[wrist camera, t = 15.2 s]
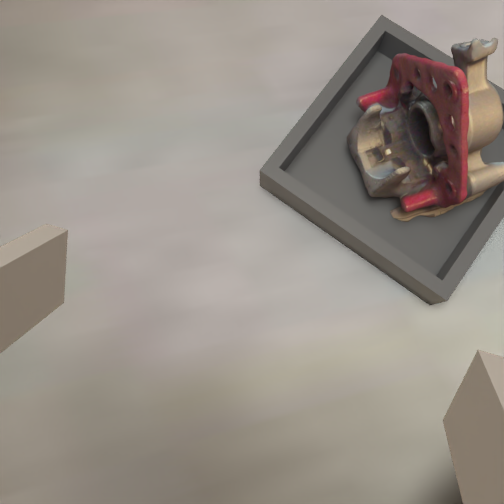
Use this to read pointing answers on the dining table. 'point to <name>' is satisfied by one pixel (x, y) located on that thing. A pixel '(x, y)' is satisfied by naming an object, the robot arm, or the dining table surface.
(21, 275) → the robot arm
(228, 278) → the dining table surface
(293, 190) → the parts tray
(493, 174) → the brake caliper
